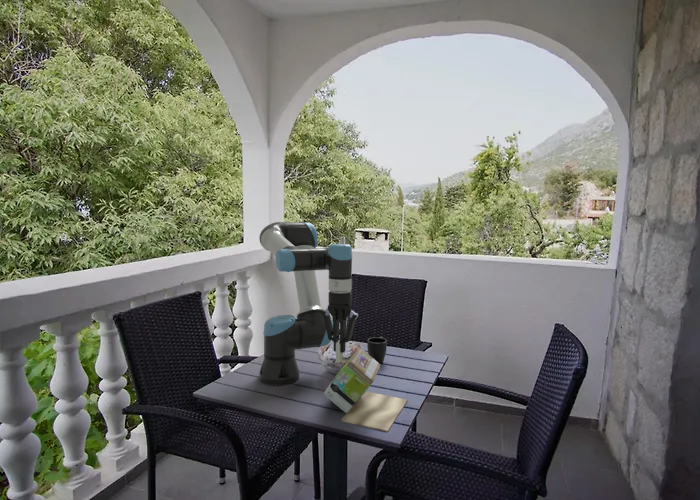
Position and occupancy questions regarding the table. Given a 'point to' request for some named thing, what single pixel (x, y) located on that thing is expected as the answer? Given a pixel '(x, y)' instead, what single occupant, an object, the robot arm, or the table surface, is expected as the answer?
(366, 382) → the tea box
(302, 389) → the table surface
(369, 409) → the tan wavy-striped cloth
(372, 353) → the mug
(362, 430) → the table surface
